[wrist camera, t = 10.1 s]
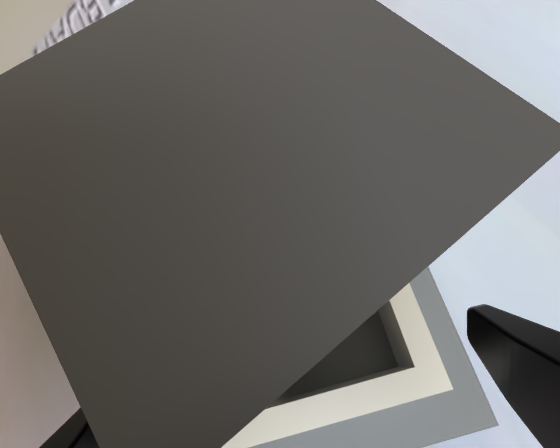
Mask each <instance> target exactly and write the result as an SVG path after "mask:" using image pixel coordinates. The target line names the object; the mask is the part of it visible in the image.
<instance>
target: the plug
mask: <svg viewBox="0 0 560 448" xmlns="http://www.w3.org/2000/svg"><path fill="white" fill-rule="evenodd" d="M559 151H560V123H559V122H557V121H556V120H554V119H553V118H551V117H550V116H548V115H547V114H545V113H544V112H542V111H541V110H539V109H538V108H536V107H535V106H533V105H532V104H530V103H529V102H527V101H526V100H524V99H523V98H521V97H520V96H518V95H517V94H515V93H514V92H512V91H511V90H509V89H508V88H506V87H505V86H503V85H502V84H500V83H499V82H497V81H496V80H494V79H493V78H491V77H490V76H488V75H487V74H485V73H484V72H482V71H481V70H479V69H478V68H476V67H475V66H473V65H472V64H470V63H469V62H467V61H466V60H464V59H463V58H461V57H460V56H459V55H457V54H456V53H454V52H453V51H451V50H450V49H448V48H447V47H445V46H444V45H442V44H441V43H439V42H438V41H436V40H435V39H433V38H432V37H430V36H429V35H427V34H426V33H424V32H423V31H421V30H420V29H418V28H417V27H415V26H414V25H412V24H411V23H409V22H408V21H406V20H405V19H403V18H402V17H400V16H399V15H397V14H396V13H394V12H393V11H391V10H390V9H388V8H387V7H385V6H384V5H382V4H381V3H379V2H378V1H376V0H134V1H133V2H131V3H129V4H127V5H125V6H124V7H122V8H120V9H118V10H116V11H115V12H113V13H111V14H109V15H107V16H106V17H104V18H102V19H100V20H98V21H97V22H95V23H93V24H91V25H89V26H88V27H86V28H84V29H82V30H80V31H79V32H77V33H75V34H73V35H71V36H70V37H68V38H66V39H64V40H62V41H61V42H59V43H57V44H55V45H53V46H51V47H50V48H48V49H46V50H44V51H42V52H41V53H39V54H37V55H35V56H33V57H32V58H30V59H28V60H26V61H24V62H23V63H21V64H19V65H17V66H15V67H14V68H12V69H10V70H9V71H6V72H5V73H3V74H1V75H0V233H1V235H2V238H3V240H4V242H5V244H6V246H7V248H8V251H9V253H10V255H11V257H12V259H13V261H14V264H15V266H16V268H17V270H18V272H19V274H20V277H21V279H22V281H23V283H24V285H25V287H26V289H27V292H28V294H29V296H30V298H31V300H32V302H33V305H34V307H35V309H36V311H37V313H38V315H39V318H40V320H41V322H42V324H43V326H44V328H45V331H46V333H47V335H48V337H49V339H50V341H51V344H52V346H53V348H54V350H55V352H56V354H57V357H58V359H59V361H60V363H61V365H62V367H63V369H64V372H65V374H66V376H67V378H68V380H69V382H70V385H71V387H72V389H73V391H74V393H75V395H76V398H77V400H78V402H79V404H80V406H81V408H82V411H83V413H84V415H85V417H86V419H87V421H88V424H89V426H90V428H91V430H92V432H93V434H94V437H95V439H96V441H97V443H98V445H99V447H100V448H221V447H222V446H224V445H225V444H226V443H227V442H228V441H229V440H230V439H232V438H233V437H234V436H235V435H236V434H237V433H238V432H240V431H241V430H242V429H243V428H244V427H245V426H246V425H248V424H249V423H250V422H251V421H252V420H253V419H254V418H256V417H257V416H258V415H259V414H260V413H261V412H262V411H264V410H265V409H266V408H267V407H268V406H269V405H270V404H272V403H273V402H274V401H275V400H276V399H277V398H278V397H279V396H281V395H282V394H283V393H284V392H285V391H286V390H287V389H289V388H290V387H291V386H292V385H293V384H294V383H295V382H297V381H298V380H299V379H300V378H301V377H302V376H303V375H305V374H306V373H307V372H308V371H309V370H310V369H311V368H313V367H314V366H315V365H316V364H317V363H318V362H319V361H321V360H322V359H323V358H324V357H325V356H326V355H327V354H329V353H330V352H331V351H332V350H333V349H334V348H335V347H337V346H338V345H339V344H340V343H341V342H342V341H343V340H344V339H346V338H347V337H348V336H349V335H350V334H351V333H352V332H354V331H355V330H356V329H357V328H358V327H359V326H360V325H362V324H363V323H364V322H365V321H366V320H367V319H368V318H370V317H371V316H372V315H373V314H374V313H375V312H376V311H378V310H379V309H380V308H381V307H382V306H383V305H384V304H386V303H387V302H388V301H389V300H390V299H391V298H392V297H394V296H395V295H396V294H397V293H398V292H399V291H400V290H402V289H403V288H404V287H405V286H406V285H407V284H408V283H409V282H411V281H412V280H413V279H414V278H415V277H416V276H417V275H419V274H420V273H421V272H422V271H423V270H424V269H425V268H427V267H428V266H429V265H430V264H431V263H432V262H433V261H435V260H436V259H437V258H438V257H439V256H440V255H441V254H443V253H444V252H445V251H446V250H447V249H448V248H449V247H451V246H452V245H453V244H454V243H455V242H456V241H457V240H459V239H460V238H461V237H462V236H463V235H464V234H465V233H466V232H468V231H469V230H470V229H471V228H472V227H473V226H474V225H476V224H477V223H478V222H479V221H480V220H481V219H482V218H484V217H485V216H486V215H487V214H488V213H489V212H490V211H492V210H493V209H494V208H495V207H496V206H497V205H498V204H500V203H501V202H502V201H503V200H504V199H505V198H506V197H508V196H509V195H510V194H511V193H512V192H513V191H514V190H516V189H517V188H518V187H519V186H520V185H521V184H522V183H524V182H525V181H526V180H527V179H528V178H529V177H530V176H531V175H533V174H534V173H535V172H536V171H537V170H538V169H539V168H541V167H542V166H543V165H544V164H545V163H546V162H547V161H549V160H550V159H551V158H552V157H553V156H554V155H555V154H557V153H558V152H559Z"/></svg>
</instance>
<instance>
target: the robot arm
mask: <svg viewBox="0 0 560 448" xmlns="http://www.w3.org/2000/svg"><path fill="white" fill-rule="evenodd" d="M467 336H468V340H469V342H470V344H471V345H472V347H473V349H474V350H475V352H476V353H477V355H478V356H479V358H480V360H481V361H482V363H483V364H484V366H485V367H486V369H487V371H488V372H489V374H490V375H491V377H492V378H493V380H494V381H495V383H496V385H497V386H498V388H499V389H500V391H501V392H502V394H503V395H504V397H505V398H506V400H507V401H508V403H509V404H510V405H511V407H512V408H513V409H514V411H515V412H516V413H517V415H518V416H519V417H520V418H521V420H522V421H523V422H524V424H525V425H526V426H527V427H528V429H529V430H530V431H531V432H532V434H533V435H534V436H535V438H536V439H537V440H538V441H539V443H540V444H541V445H542V447H543V448H560V332H559V331H556V330H553V329H551V328H548V327H545V326H543V325H540V324H537V323H535V322H532V321H529V320H527V319H524V318H521V317H519V316H516V315H513V314H511V313H508V312H505V311H503V310H500V309H497V308H495V307H492V306H489V305H486V304H482V305H478V306H474V307H470V308H469V309H468V310H467ZM39 448H100V447H99V445H98V443H97V441H96V439H95V437H94V434H93V432H92V430H91V428H90V426H89V424H88V421H87V419H86V417H85V415H84V413H83V411H82V408H80V409H79V410H78V411H77V412H76V413H75V414H74V415H73V416H71V417H70V418H69V419H68V420H67V421H66V422H65V423H64V424H63V425H62V426H61V427H60V428H59V429H58V430H57V431H56V432H55V433H54V434H53V435H52V436H51V437H50V438H49V439H48V440H47V441H46V442H45V443H44V444H43V445H41V446H40V447H39Z"/></svg>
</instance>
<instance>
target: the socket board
mask: <svg viewBox="0 0 560 448" xmlns="http://www.w3.org/2000/svg"><path fill="white" fill-rule="evenodd" d="M495 426H498V422H497V420H496V418H495V416H494V413H493V411H492V409H491V407H490V404H489V402H488V400H487V398H486V395H485V393H484V391H483V389H482V386H481V384H480V382H479V380H478V377H477V375H476V373H475V371H474V368H473V366H472V364H471V362H470V360H469V357H468V355H467V353H466V351H465V348H464V346H463V344H462V342H461V339H460V337H459V335H458V333H457V330H456V328H455V326H454V324H453V321H452V319H451V317H450V315H449V312H448V310H447V308H446V306H445V303H444V301H443V299H442V297H441V294H440V292H439V290H438V288H437V285H436V283H435V281H434V279H433V277H432V274H431V272H430V270H429V268H428V267H427V268H425V269H424V270H423V271H422V272H421V273H420V274H419V275H417V276H416V277H415V278H414V279H413V280H412V281H411V282H409V283H408V284H407V285H406V286H405V287H404V288H403V289H402V290H400V291H399V292H398V293H397V294H396V295H395V296H394V297H392V298H391V299H390V300H389V301H388V302H387V303H386V304H384V305H383V306H382V307H381V308H380V309H379V310H378V311H376V312H375V313H374V314H373V315H372V316H371V317H370V318H368V319H367V320H366V321H365V322H364V323H363V324H362V325H360V326H359V327H358V328H357V329H356V330H355V331H354V332H352V333H351V334H350V335H349V336H348V337H347V338H346V339H344V340H343V341H342V342H341V343H340V344H339V345H338V346H337V347H335V348H334V349H333V350H332V351H331V352H330V353H329V354H327V355H326V356H325V357H324V358H323V359H322V360H321V361H319V362H318V363H317V364H316V365H315V366H314V367H313V368H311V369H310V370H309V371H308V372H307V373H306V374H305V375H303V376H302V377H301V378H300V379H299V380H298V381H297V382H295V383H294V384H293V385H292V386H291V387H290V388H289V389H287V390H286V391H285V392H284V393H283V394H282V395H281V396H279V397H278V398H277V399H276V400H275V401H274V402H273V403H272V404H270V405H269V406H268V407H267V408H266V409H265V410H264V411H262V412H261V413H260V414H259V415H258V416H257V417H256V418H254V419H253V420H252V421H251V422H250V423H249V424H248V425H246V426H245V427H244V428H243V429H242V430H241V431H240V432H238V433H237V434H236V435H235V436H234V437H233V438H232V439H230V440H229V441H228V442H227V443H226V444H225V445H224V446H222V447H221V448H422V447H425V446H429V445H432V444H436V443H439V442H443V441H446V440H450V439H453V438H457V437H460V436H463V435H467V434H470V433H474V432H477V431H481V430H484V429H488V428H491V427H495Z"/></svg>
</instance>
